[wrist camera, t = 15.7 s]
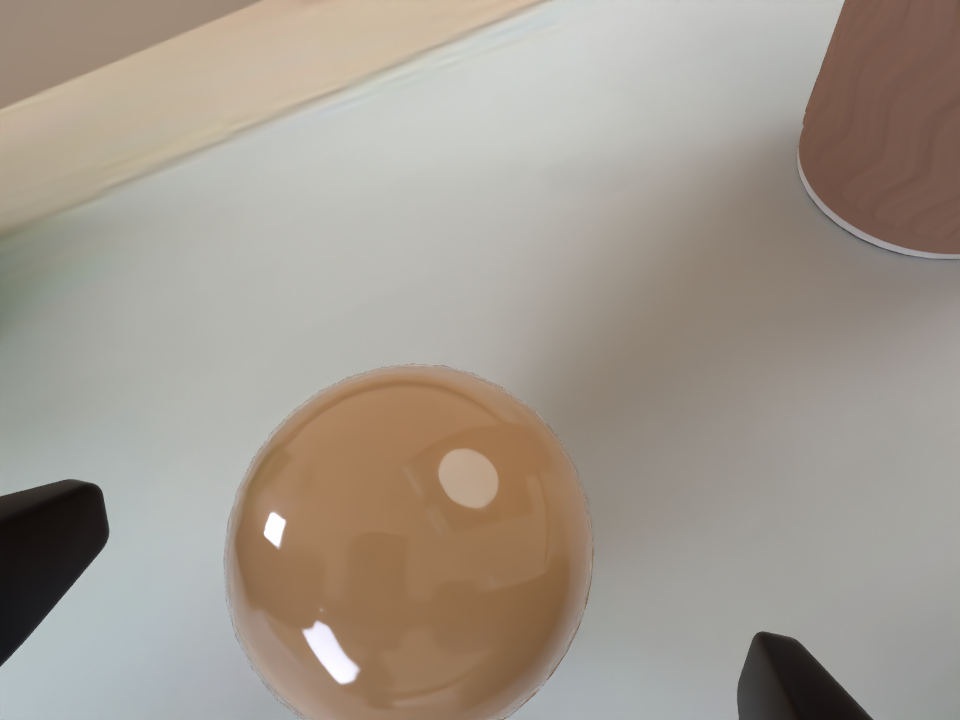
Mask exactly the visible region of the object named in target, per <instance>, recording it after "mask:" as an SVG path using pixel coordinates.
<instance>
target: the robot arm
mask: <svg viewBox="0 0 960 720" xmlns="http://www.w3.org/2000/svg"><path fill="white" fill-rule="evenodd" d="M108 537H109V525H108V520H107V514H106V509H105V503H104V498H103V493H102V490H101V489H100V488H99V486H97V485H95V484H93V483H89V482H84V481H80V480H74V479H67V480H62V481H59V482H55V483H51V484H47V485H43V486H39V487H35V488H32V489H28V490H24V491H20V492H16V493H12V494H8V495H4V496H1V497H0V667H1V666H2V665H3V664H4V663H5V661H6V660H7V659H8V658H9V657H10V656H11V655H12V654H13V653H14V652H15V651H16V650H17V649H18V648H19V647H20V646H21V645H22V644H23V642H24V641H25V640H26V639H27V638H28V637H29V636H30V634H31V633H32V632H33V631H34V630H35V629H36V628H37V626H38V625H39V624H40V623H41V622H42V620H43V619H44V618H45V617H46V616H47V615H48V613H49V612H50V611H51V610H52V609H53V607H54V606H55V605H56V604H57V603H58V601H59V600H60V599H61V598H62V597H63V596H64V594H65V593H66V592H67V591H68V590H69V588H70V587H71V586H72V585H73V584H74V583H75V581H76V580H77V579H78V578H79V577H80V575H81V574H82V573H83V572H84V571H85V569H86V568H87V567H88V566H89V565H90V564H91V562H92V561H93V560H94V559H95V558H96V556H97V555H98V554H99V553H100V552H101V550H102V549H103V548H104V546H105V544H106V543H107V540H108ZM737 704H738V713H739V720H873V719H872V718H871V717H870V716H869V715H868V713H867V712H866V711H865V710H864V709H863V708H862V707H861V706H860V705H859V704H858V703H857V702H856V701H855V700H854V699H853V698H852V697H851V696H850V695H849V694H848V692H847V691H846V690H845V689H844V688H843V687H842V686H841V685H840V684H839V683H838V682H837V681H836V680H835V679H834V678H833V677H832V676H831V675H830V674H829V673H828V671H827V670H826V669H825V668H824V667H823V666H822V665H821V664H820V663H819V662H818V661H817V660H816V659H815V658H814V657H813V656H812V655H811V654H810V653H809V652H808V650H807V649H806V648H805V647H804V646H803V645H802V644H801V643H800V642H798V641H797V640H795V639H793V638H791V637H787V636H782V635H778V634H773V633H769V632H763V631H762V632H758V633H757V634H756V635H755V636H754V638H753V640H752V642H751V645H750V648H749V651H748V654H747V657H746V661H745V664H744V667H743V670H742V673H741V676H740V679H739V682H738V689H737Z"/></svg>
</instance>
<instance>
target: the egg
mask: <svg viewBox="0 0 960 720" xmlns="http://www.w3.org/2000/svg"><path fill="white" fill-rule="evenodd" d="M592 566H593V534H592V526H591V520H590V515H589V510H588V503H587V497H586V495H585V492H584V489H583V486H582V484H581V481H580V478H579V475H578V473H577V470H576V467H575V465H574V463H573V461H572V459H571V458H570V456H569V454H568V453H567V451H566V449H565V448H564V446H563V444H562V443H561V441H560V439H559V438H558V436H557V435H556V433H555V432H554V431H553V430H552V429H551V428H550V427H549V426H548V425H547V424H546V422H545V421H544V420H543V419H542V418H541V417H540V416H539V415H538V414H537V413H536V411H535V410H533V409H532V408H531V407H529V406H528V405H527V404H525V403H524V402H523V401H521V400H520V399H519V398H517V397H516V396H515V395H513V394H512V393H511V392H509V391H508V390H506V389H505V388H503V387H501V386H499V385H497V384H495V383H493V382H491V381H489V380H487V379H485V378H482V377H480V376H478V375H476V374H474V373H471V372H467V371H463V370H459V369H455V368H451V367H448V366H444V365H429V364H414V363H413V364H404V365H395V366H386V367H381V368H377V369H374V370H370V371H367V372H364V373H360V374H357V375H353V376H350V377H347V378H345V379H343V380H341V381H339V382H337V383H335V384H333V385H331V386H329V387H327V388H325V389H323V390H321V391H319V392H318V393H316V394H315V395H313V396H312V397H311V398H309V399H308V400H307V401H305V402H304V403H302V404H301V405H300V406H298V407H297V408H295V409H294V410H293V411H292V412H291V413H290V414H289V415H288V416H287V417H286V418H285V419H284V420H283V421H282V422H281V423H280V424H279V425H278V426H277V427H276V428H275V429H274V430H273V431H272V432H271V434H270V435H269V437H268V438H267V439H266V441H265V442H264V443H263V445H262V446H261V448H260V449H259V450H258V452H257V453H256V455H255V456H254V457H253V459H252V461H251V463H250V465H249V467H248V469H247V471H246V473H245V475H244V477H243V479H242V481H241V483H240V485H239V487H238V490H237V493H236V496H235V500H234V503H233V506H232V510H231V513H230V516H229V520H228V525H227V534H226V542H225V551H224V576H225V591H226V602H227V606H228V609H229V613H230V617H231V621H232V624H233V628H234V632H235V636H236V638H237V640H238V642H239V644H240V646H241V648H242V650H243V652H244V654H245V656H246V658H247V660H248V662H249V664H250V666H251V668H252V670H253V671H254V673H255V674H256V675H257V676H258V677H259V679H260V680H261V681H262V682H263V684H264V685H265V686H266V687H267V688H268V690H269V691H270V692H271V693H272V694H273V696H274V697H275V698H276V699H277V700H278V701H279V702H280V703H282V704H283V705H284V706H286V707H287V708H288V709H289V710H291V711H292V712H293V713H295V714H296V715H297V716H299V717H300V718H301V719H303V720H503V719H505V718H506V717H508V716H510V715H511V714H513V713H514V712H515V711H516V710H518V709H519V708H520V707H521V706H522V705H523V704H524V703H526V702H527V701H528V700H529V699H530V698H531V697H533V696H534V695H535V694H536V692H537V691H538V690H539V689H540V688H541V687H542V686H543V685H544V684H545V682H546V681H547V680H548V679H549V677H550V676H551V675H552V674H553V672H554V671H555V669H556V668H557V666H558V665H559V663H560V662H561V660H562V659H563V657H564V656H565V654H566V653H567V651H568V649H569V647H570V645H571V643H572V640H573V638H574V636H575V634H576V632H577V630H578V628H579V625H580V622H581V619H582V617H583V614H584V610H585V607H586V604H587V600H588V594H589V589H590V584H591V579H592Z"/></svg>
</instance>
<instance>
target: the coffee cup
mask: <svg viewBox="0 0 960 720" xmlns="http://www.w3.org/2000/svg"><path fill="white" fill-rule="evenodd" d="M805 112H806V113H805V115H804V119H803V126H804V127H803V130H802V133H801V136H800V141H799V145H798V152H797V165H798V169H799V174H800V178H801V180H802V182H803V184H804V186H805V188H806V190H807V192H808V194H809V195H810V197H811V198H812V199H813V200H814V202H815V203H816V204H817V206H818V207H819V208H820V209H821V210H822V211H823V212H824V213H825V214H826V215H828V216H829V217H830V218H831V219H832V220H833V221H834V222H835V223H837V224H838V225H840V226H841V227H843V228H844V229H846V230H847V231H849V232H851V233H852V234H854V235H855V236H857V237H859V238H861V239H863V240H866V241H868V242H870V243H872V244H875V245H877V246H879V247H882V248H885V249H888V250H892V251H895V252H899V253H902V254H905V255H912V256H918V257H925V258H932V259H959V258H960V0H845V2H844V5H843V7H842V10H841V13H840V16H839V19H838V21H837V24H836V27H835V30H834V33H833V36H832V38H831V41H830V44H829V46H828V49H827V52H826V55H825V57H824V60H823V63H822V66H821V69H820V72H819V75H818V77H817V80H816V82H815V85H814V88H813V91H812V93H811V96H810V99H809V102H808V104H807V107H806V110H805Z"/></svg>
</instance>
